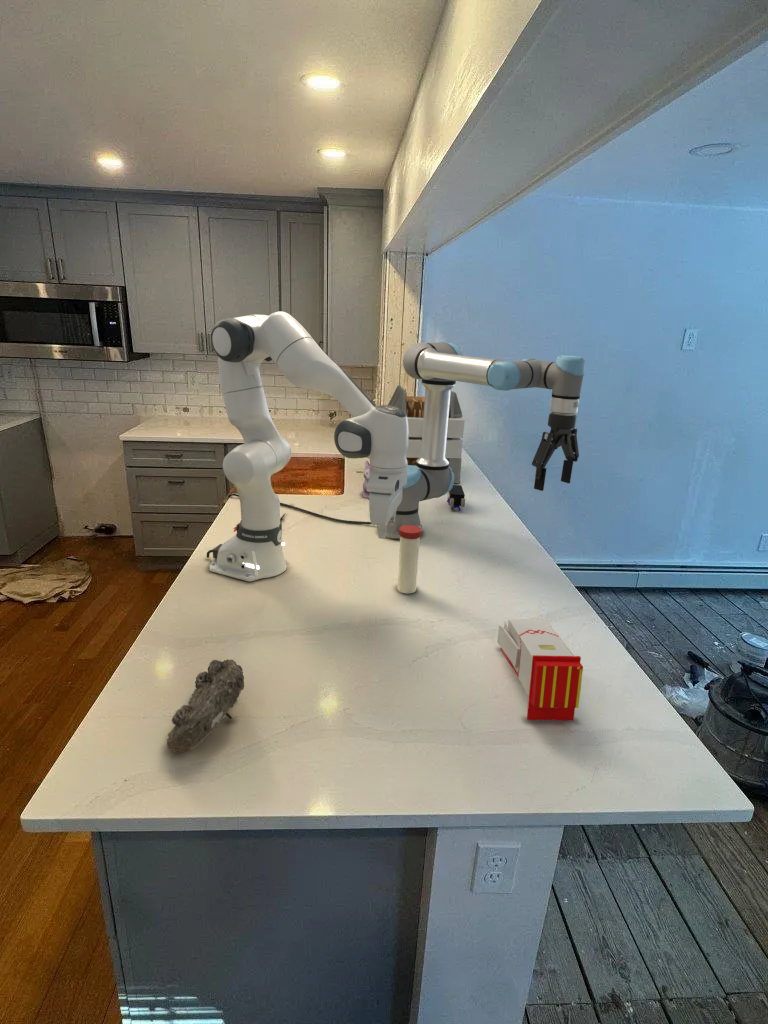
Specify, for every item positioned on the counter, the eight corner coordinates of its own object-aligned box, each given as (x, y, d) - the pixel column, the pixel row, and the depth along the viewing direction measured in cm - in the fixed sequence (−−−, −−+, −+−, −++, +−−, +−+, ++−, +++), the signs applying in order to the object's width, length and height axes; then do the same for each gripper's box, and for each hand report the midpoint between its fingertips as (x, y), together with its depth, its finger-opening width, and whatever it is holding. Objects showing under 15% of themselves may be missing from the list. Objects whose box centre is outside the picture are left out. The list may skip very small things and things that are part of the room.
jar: (406, 583, 164) (410, 525, 158) (419, 589, 161) (424, 531, 155) (393, 588, 161) (396, 529, 155) (407, 595, 157) (410, 535, 151)
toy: (543, 604, 136) (592, 662, 106) (538, 656, 138) (584, 727, 109) (493, 603, 135) (528, 661, 106) (489, 655, 138) (522, 726, 109)
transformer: (382, 463, 289) (386, 382, 275) (445, 464, 293) (451, 384, 279) (390, 482, 257) (394, 392, 243) (460, 483, 261) (468, 394, 247)
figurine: (366, 499, 233) (368, 464, 228) (356, 492, 241) (357, 458, 236) (387, 497, 237) (388, 462, 232) (376, 490, 246) (377, 456, 241)
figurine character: (465, 515, 224) (460, 499, 237) (467, 498, 221) (462, 483, 234) (448, 515, 224) (444, 499, 237) (450, 498, 220) (445, 482, 234)
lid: (409, 529, 159) (410, 523, 159) (426, 535, 155) (426, 529, 155) (394, 534, 155) (394, 528, 155) (410, 541, 151) (410, 534, 151)
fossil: (192, 660, 117) (244, 628, 112) (224, 691, 120) (276, 661, 115) (142, 746, 98) (202, 712, 93) (182, 779, 101) (242, 748, 96)
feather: (292, 507, 224) (294, 503, 223) (275, 531, 197) (278, 527, 197) (288, 505, 224) (291, 501, 223) (271, 528, 197) (273, 524, 197)
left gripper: (385, 464, 144) (383, 515, 148) (364, 486, 125) (363, 544, 130) (409, 466, 143) (407, 517, 147) (392, 489, 124) (390, 547, 128)
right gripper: (548, 419, 148) (537, 496, 155) (598, 411, 163) (586, 482, 171) (525, 414, 153) (515, 489, 160) (575, 407, 169) (564, 476, 176)
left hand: (386, 530), depth 138 cm, fingers open, 8 cm apart
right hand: (552, 485), depth 166 cm, fingers open, 13 cm apart
